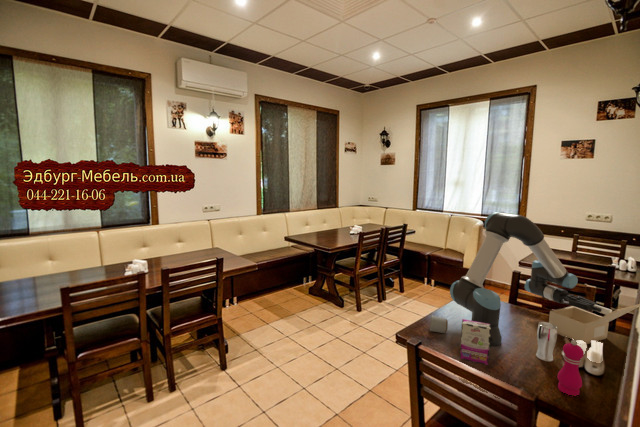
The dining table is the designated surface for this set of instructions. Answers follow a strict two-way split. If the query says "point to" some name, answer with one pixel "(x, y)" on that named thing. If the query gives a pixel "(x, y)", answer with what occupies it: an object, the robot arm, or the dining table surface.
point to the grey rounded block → (438, 324)
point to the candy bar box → (475, 341)
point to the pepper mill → (571, 369)
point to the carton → (578, 324)
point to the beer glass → (546, 340)
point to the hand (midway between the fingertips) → (610, 312)
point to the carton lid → (613, 315)
